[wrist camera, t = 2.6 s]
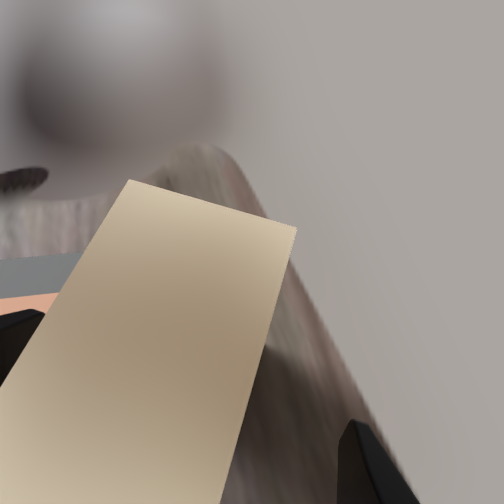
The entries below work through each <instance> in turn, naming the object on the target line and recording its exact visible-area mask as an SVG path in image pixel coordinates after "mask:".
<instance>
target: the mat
mask: <svg viewBox="0 0 504 504" xmlns="http://www.w3.org/2000/svg"><path fill="white" fill-rule="evenodd" d="M83 253H84V252H77V253H67V254H57V255H47V256H37V257H27V258H17V259H7V260H0V315H3V314H8V313H12V312H17V311H21V310H26V309H35V310H38V311H41V312H44V313H45V314H46V313H47V311H48V310H49V308H50V306H51V305H52V303H53V302H54V300H55V298H56V297H57V295H58V293H59V292H60V290H61V289H62V287H63V285H64V284H65V282H66V281H67V279H68V277H69V276H70V274H71V272H72V271H73V269H74V268H75V266H76V264H77V263H78V261H79V260H80V258H81V256H82V255H83Z"/></svg>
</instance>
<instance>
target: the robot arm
mask: <svg viewBox="0 0 504 504" xmlns="http://www.w3.org/2000/svg"><path fill="white" fill-rule="evenodd" d="M44 316H45V313H44V312H41V311H38V310H35V309H26V310H21V311H17V312H12V313H8V314H3V315H0V387H1V386H2V384H3V382H4V381H5V379H6V378H7V376H8V374H9V373H10V371H11V369H12V368H13V366H14V365H15V363H16V361H17V360H18V358H19V357H20V355H21V353H22V352H23V350H24V348H25V347H26V345H27V344H28V342H29V340H30V339H31V337H32V336H33V334H34V332H35V331H36V329H37V327H38V326H39V324H40V323H41V321H42V319H43V318H44ZM337 504H420V503H419V501H418V500H417V498H416V497H415V495H414V494H413V492H412V491H411V489H410V488H409V486H408V485H407V483H406V482H405V480H404V478H403V477H402V475H401V474H400V472H399V471H398V469H397V468H396V466H395V465H394V463H393V462H392V460H391V459H390V457H389V455H388V454H387V452H386V451H385V449H384V448H383V446H382V445H381V443H380V442H379V440H378V439H377V437H376V436H375V434H374V433H373V431H372V429H371V428H370V427H369V425H368V424H366V423H364V422H361V421H358V420H356V419H351V420H350V421H349V423H348V425H347V427H346V429H345V431H344V433H343V435H342V437H341V439H340V441H339V447H338V480H337Z"/></svg>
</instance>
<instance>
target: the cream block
mask: <svg viewBox="0 0 504 504" xmlns="http://www.w3.org/2000/svg"><path fill="white" fill-rule="evenodd" d="M296 230H297V228H296V227H293V226H289V225H286V224H282V223H279V222H275V221H272V220H269V219H265V218H262V217H258V216H255V215H251V214H248V213H244V212H241V211H238V210H234V209H231V208H227V207H224V206H220V205H217V204H213V203H210V202H206V201H203V200H199V199H196V198H193V197H189V196H186V195H182V194H179V193H175V192H172V191H168V190H165V189H161V188H158V187H155V186H151V185H148V184H144V183H141V182H137V181H133V180H128V182H127V184H126V185H125V187H124V188H123V190H122V192H121V193H120V195H119V197H118V198H117V200H116V201H115V203H114V205H113V206H112V208H111V209H110V211H109V213H108V214H107V216H106V218H105V219H104V221H103V222H102V224H101V226H100V227H99V229H98V230H97V232H96V234H95V235H94V237H93V239H92V240H91V242H90V243H89V245H88V247H87V248H86V250H85V251H84V253H83V255H82V256H81V258H80V260H79V261H78V263H77V264H76V266H75V268H74V269H73V271H72V272H71V274H70V276H69V277H68V279H67V281H66V282H65V284H64V285H63V287H62V289H61V290H60V292H59V293H58V295H57V297H56V298H55V300H54V302H53V303H52V305H51V306H50V308H49V310H48V311H47V313H46V314H45V316H44V318H43V319H42V321H41V323H40V324H39V326H38V327H37V329H36V331H35V332H34V334H33V336H32V337H31V339H30V340H29V342H28V344H27V345H26V347H25V348H24V350H23V352H22V353H21V355H20V357H19V358H18V360H17V361H16V363H15V365H14V366H13V368H12V369H11V371H10V373H9V374H8V376H7V378H6V379H5V381H4V382H3V384H2V386H1V387H0V504H219V503H220V500H221V496H222V493H223V489H224V486H225V482H226V479H227V475H228V471H229V468H230V464H231V461H232V457H233V454H234V450H235V447H236V443H237V440H238V436H239V432H240V429H241V425H242V422H243V418H244V415H245V411H246V408H247V404H248V401H249V397H250V394H251V390H252V386H253V383H254V379H255V376H256V372H257V369H258V365H259V362H260V358H261V355H262V351H263V348H264V344H265V340H266V337H267V333H268V330H269V326H270V323H271V319H272V316H273V312H274V309H275V305H276V302H277V298H278V294H279V291H280V287H281V284H282V280H283V277H284V273H285V270H286V266H287V263H288V259H289V256H290V252H291V248H292V245H293V241H294V238H295V234H296Z"/></svg>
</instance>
